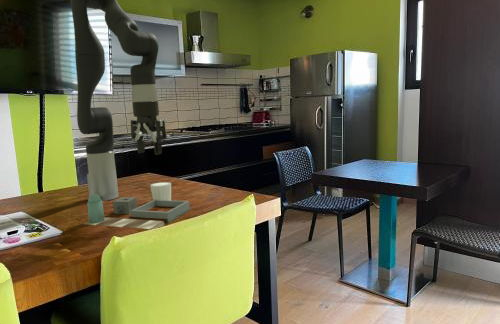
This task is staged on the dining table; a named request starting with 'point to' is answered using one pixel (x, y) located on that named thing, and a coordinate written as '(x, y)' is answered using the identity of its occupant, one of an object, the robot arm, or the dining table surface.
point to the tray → (171, 215)
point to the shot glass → (161, 191)
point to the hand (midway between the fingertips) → (149, 153)
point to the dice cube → (124, 205)
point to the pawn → (95, 209)
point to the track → (121, 222)
